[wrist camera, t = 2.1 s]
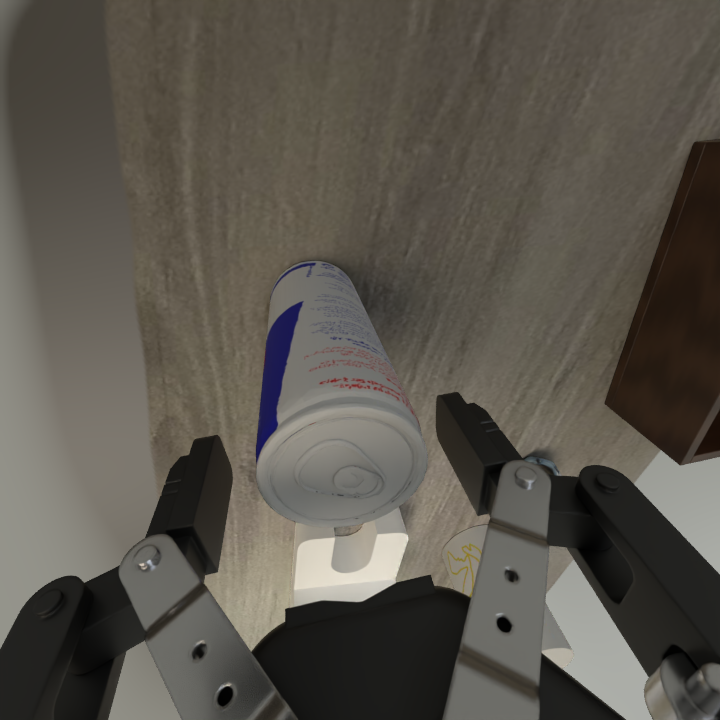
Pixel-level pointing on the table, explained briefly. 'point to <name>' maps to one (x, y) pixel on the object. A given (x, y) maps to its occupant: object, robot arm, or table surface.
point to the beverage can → (332, 408)
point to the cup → (462, 570)
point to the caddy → (679, 326)
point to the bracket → (346, 561)
